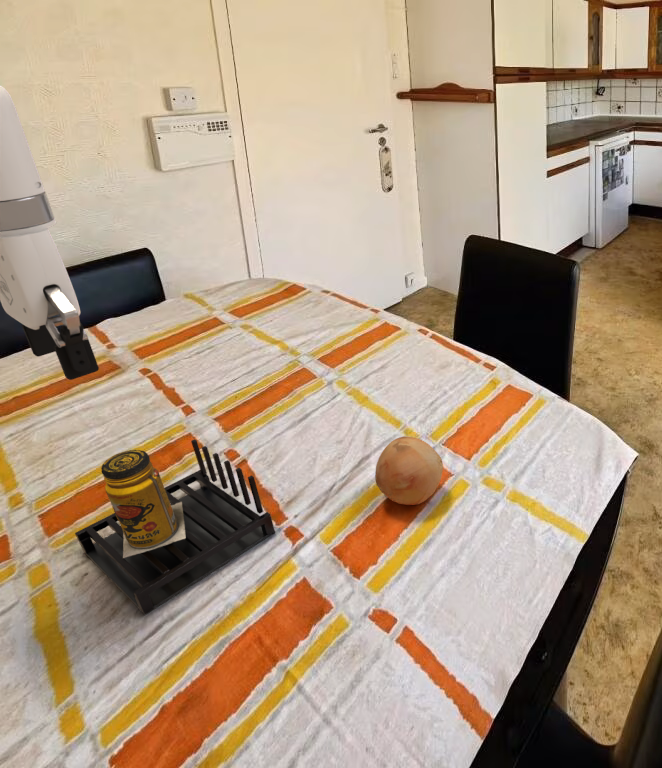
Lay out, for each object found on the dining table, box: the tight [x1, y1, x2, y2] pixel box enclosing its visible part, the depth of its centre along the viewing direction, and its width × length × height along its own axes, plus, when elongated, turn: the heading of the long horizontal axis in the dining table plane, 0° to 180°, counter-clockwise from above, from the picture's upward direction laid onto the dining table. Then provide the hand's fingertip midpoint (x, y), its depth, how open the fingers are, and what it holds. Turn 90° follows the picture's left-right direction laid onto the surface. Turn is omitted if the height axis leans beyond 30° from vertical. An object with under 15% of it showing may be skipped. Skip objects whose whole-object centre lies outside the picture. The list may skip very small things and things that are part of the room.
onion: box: [374, 436, 444, 506], centre depth 91 cm, size 10×10×10 cm
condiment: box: [101, 449, 186, 558], centre depth 81 cm, size 7×8×12 cm
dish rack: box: [74, 439, 276, 616], centre depth 84 cm, size 18×18×9 cm
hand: (66, 363), depth 72 cm, fingers open, 9 cm apart
